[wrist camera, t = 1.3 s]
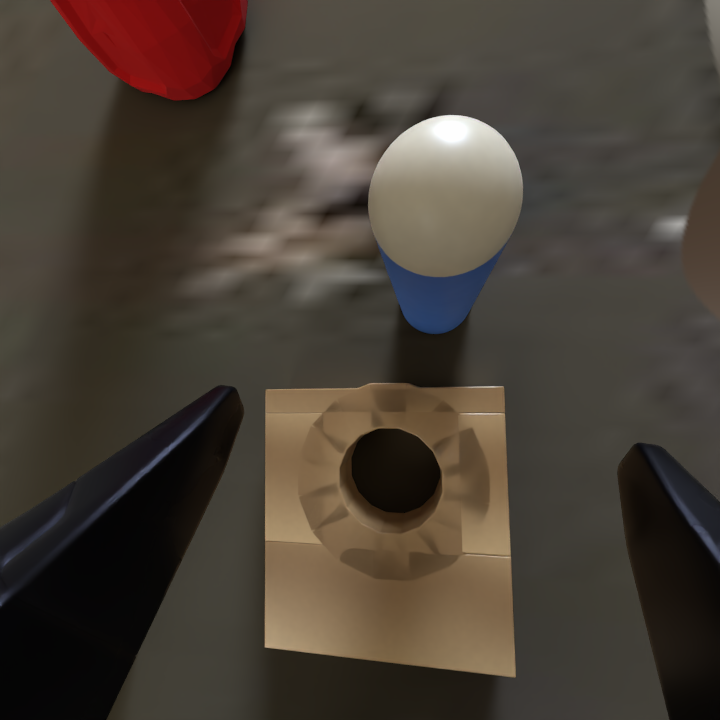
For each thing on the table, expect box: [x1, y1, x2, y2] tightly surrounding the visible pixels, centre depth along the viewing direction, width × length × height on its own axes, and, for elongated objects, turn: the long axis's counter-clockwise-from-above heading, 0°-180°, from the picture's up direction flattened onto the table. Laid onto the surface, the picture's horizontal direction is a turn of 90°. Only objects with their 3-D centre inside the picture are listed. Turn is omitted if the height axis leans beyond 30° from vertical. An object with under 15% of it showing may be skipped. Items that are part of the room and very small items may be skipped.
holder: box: [265, 383, 516, 678], centre depth 20 cm, size 13×12×3 cm
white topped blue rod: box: [368, 115, 523, 334], centre depth 15 cm, size 4×4×14 cm
